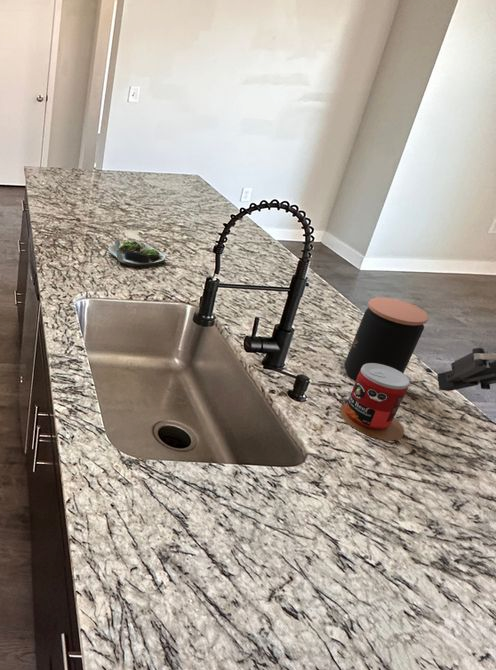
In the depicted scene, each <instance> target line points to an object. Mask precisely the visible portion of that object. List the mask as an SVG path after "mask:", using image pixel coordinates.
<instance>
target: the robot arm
mask: <svg viewBox="0 0 496 670" xmlns="http://www.w3.org/2000/svg"><path fill="white" fill-rule="evenodd" d="M450 365H451V370H448V371H444V372H439V373H437V374H436V375H437V376H436V377H437V382H438V383H437V385H438V390H439V391H444V392H451V391H456V390H460V389H465V388H470V387H474V386H475V387H476V386H479V384H480V389H481V390H491V385H493V384H496V352H495V353H489V350H485V349H484V348H482V347H474V348H472V351H471V352H470V353H468V354H467V355H464V356H463V357H461V358H459V359H456V360H455V361H453V362H451V363H450Z"/></svg>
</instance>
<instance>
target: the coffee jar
mask: <svg viewBox="0 0 496 670" xmlns="http://www.w3.org/2000/svg"><path fill="white" fill-rule="evenodd" d="M367 306H368V307H367V308H366V310H365V311H364V312H363V315H362V318H361V321H360V323H359V325H358V328H357V330H356V333H355V336H354V338H353V341H352V342H351V346H350V348H349V351H348V353H347V356H346V358H345V361H344V369H345V372H346V374H347V376H348V377H349V378H351V379H352V380H353V381H355V382H356V379H357V377H358V374H359V372H360V370H361V368H362V366H363V365H364V364H367V363H376V364H382V365H386V366H389V367H392V368H394V369H396V370H398V371H400V372H402V373H403V374H404V373H405V371H406V370H407V367H408V365H409V362H410V361H411V358H412V355H413V353H414V352H415V349H416V347H417V345H418V342H419V341H420V339H421V336H422V334H423V332H424V329H425V324H427V322H428V321H429V318H430V317H429V315H428V313H427V312H426V311H424V310H423V309H422V308H420V307H418V306H417V305H414V304H412V303H409V302H407V301H404V300H400V299H397V298H391V297H382V296H381V297H373V298H371V299H369V301H368V303H367Z"/></svg>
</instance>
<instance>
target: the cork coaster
mask: <svg viewBox="0 0 496 670" xmlns="http://www.w3.org/2000/svg"><path fill="white" fill-rule="evenodd" d="M346 404H347V403H344V404H343V405H342V406H341V407H340V410H339V413H340V416H341V418H342V419H343V420H344V422H346V423H347V424H348V425H349V426H350V427H351V428H353V429H355V431H358V432H359V433H361V434H363V435H365V436H368V437H371V438H374V439H377V440H382V441H397V440H400V439H402V438H403V437H404V435H405V429H404V427H403V425H402V424H401V423H400V422H399V420H397V419H396V418H395V417H394V418H393V421H392V423H391V425H390V426H389V427H387V428H386V429H383V430H375V429H370V428H366V427H364V426H361V425H359V424H357V423H356V422H354V421H353V420H351V419H350V418H349V417H348V416H347V414H346Z"/></svg>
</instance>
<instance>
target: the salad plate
mask: <svg viewBox="0 0 496 670" xmlns="http://www.w3.org/2000/svg"><path fill="white" fill-rule="evenodd" d="M113 242H114V244H112V245H110V246H109V247H108V252H109V253H110V254H111V255H112V256H113V257H115V258H116V259H117V261H118V262H120V263H121V264H122V265H124V266H126V267H132V268H139V269H141V268H153V267H157V266H159V265H161V264H163V263H164V262H165V261H166V255H165V254H164V253H162V252H160V251H159V250H157V249H156V248H155V247H153V246H151V245H150V244H147V243H144V242H137V241H135V240H132V241H130V240H129V241H127V239H125V240H124V241H123V243H121V241H120V240H119V239H115V240H114V241H113Z"/></svg>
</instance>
